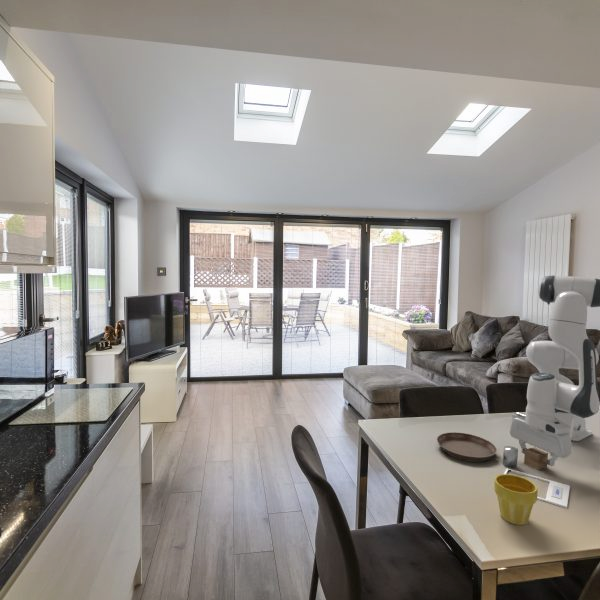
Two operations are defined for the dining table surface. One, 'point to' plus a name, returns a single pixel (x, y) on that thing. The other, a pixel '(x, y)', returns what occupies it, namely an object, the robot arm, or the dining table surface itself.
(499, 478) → the plant pot
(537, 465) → the walnut block
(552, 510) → the dining table surface
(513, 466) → the grey metal peg
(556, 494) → the photo frame
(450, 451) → the plant saucer
